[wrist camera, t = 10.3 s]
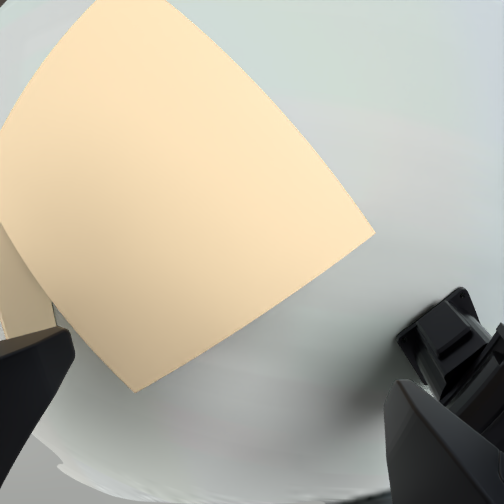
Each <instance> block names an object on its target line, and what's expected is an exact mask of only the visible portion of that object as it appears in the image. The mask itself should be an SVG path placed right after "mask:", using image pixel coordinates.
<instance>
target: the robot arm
mask: <svg viewBox="0 0 504 504" xmlns="http://www.w3.org/2000/svg"><path fill="white" fill-rule="evenodd" d="M461 293H463V294H462V296H460V294H461ZM496 330H497V331H496V333H495V334H494V336H493V337H492V336H491V335H490V334H489V333H488V332H487V331H486V330H485V329H484V328H483V326H482V325H481V324H480V322H479V319H478V316H477V314H476V311H475V308H474V306H473V303H472V301H471V298H470V296H469V293H468V291H467V290H466V289H465V288H464V287H460V288H458V289H457V290H456V291H455V292H453V293H452V294H451V295H450V296H449V297H447V298H446V299H445V300H444V301H442V302H441V303H440V304H438V305H437V306H436V307H435V308H433V309H432V310H431V311H429V312H428V313H427V314H425V315H424V316H423V317H421V318H420V319H419V320H418V321H416V322H415V323H413V324H412V325H411V326H409V327H408V328H406V329H405V330H404V331H402V332H401V333H400V334H398V336H397V342H398V344H399V346H400V347H401V349H402V350H403V352H404V353H405V355H406V356H407V358H408V360H409V361H410V363H411V364H412V366H413V367H414V369H415V371H416V372H417V374H418V375H419V377H420V379H421V380H422V382H423V384H424V385H428V386H429V388H430V390H431V392H432V394H433V396H434V398H433V397H432V396H431V395H429V394H428V393H427V392H426V391H424V390H423V389H422V388H421V387H419V386H418V385H417V384H416V383H414V382H413V381H412V380H410V379H398V380H396V381H395V382H394V383H393V385H392V387H391V390H390V392H389V394H388V397H387V399H386V401H385V404H384V421H385V439H386V459H387V467H388V473H389V480H390V488H391V496H392V504H504V324H503V323H500V324H499V326H498V327H497V329H496ZM404 337H406V338H405V339H404V340H401V339H402V338H404ZM74 358H75V350H74V346H73V342H72V338H71V334H70V332H69V330H67V329H65V328H62V327H59V326H55V327H52V328H48V329H44V330H40V331H37V332H33V333H29V334H25V335H22V336H18V337H14V338H10V339H6V340H2V341H0V488H1V486H2V484H3V482H4V480H5V478H6V477H7V475H8V473H9V471H10V469H11V467H12V466H13V464H14V462H15V460H16V458H17V456H18V455H19V453H20V451H21V450H22V448H23V446H24V445H25V443H26V441H27V439H28V438H29V436H30V434H31V433H32V431H33V430H34V428H35V426H36V425H37V423H38V422H39V420H40V418H41V417H42V415H43V414H44V412H45V410H46V409H47V407H48V406H49V404H50V403H51V401H52V399H53V398H54V396H55V394H56V393H57V391H58V389H59V387H60V385H61V383H62V381H63V379H64V377H65V375H66V374H67V372H68V370H69V368H70V366H71V364H72V363H73V361H74Z"/></svg>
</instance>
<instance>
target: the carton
mask: <svg viewBox="0 0 504 504" xmlns="http://www.w3.org/2000/svg"><path fill="white" fill-rule="evenodd" d="M0 222H1V224H2V226H3V227H4V229H5V231H6V233H7V234H8V236H9V238H10V239H11V241H12V243H13V244H14V246H15V248H16V249H17V251H18V253H19V254H20V256H21V257H22V259H23V260H24V262H25V264H26V265H27V267H28V268H29V270H30V271H31V273H32V274H33V276H34V277H35V278H36V280H37V281H38V283H39V284H40V286H41V287H42V288H43V290H44V291H45V293H46V294H47V295H48V297H49V298H50V299H51V301H52V302H53V303H54V305H55V306H56V307H57V308H58V310H59V311H60V312H61V314H62V315H63V316H64V317H65V319H66V320H67V321H68V322H69V324H70V325H71V326H72V327H73V328H74V330H75V331H76V332H77V333H78V334H79V335H80V337H81V338H82V339H83V340H84V341H85V342H86V344H87V345H88V346H89V347H90V348H91V349H92V350H93V351H94V352H95V354H96V355H97V356H98V357H99V358H100V359H101V360H102V361H103V362H104V363H105V364H106V365H107V366H108V367H109V368H110V369H111V370H112V371H113V372H114V374H115V375H116V376H117V377H118V378H119V379H120V380H122V381H123V382H124V383H125V384H126V385H127V386H128V387H129V388H130V389H131V390H132V391H133V392H134V393H137V392H138V391H140V390H142V389H144V388H145V387H147V386H149V385H150V384H152V383H154V382H156V381H157V380H159V379H161V378H162V377H164V376H166V375H167V374H169V373H171V372H173V371H174V370H176V369H178V368H179V367H181V366H182V365H184V364H186V363H187V362H189V361H191V360H192V359H194V358H196V357H197V356H199V355H200V354H202V353H204V352H205V351H207V350H208V349H210V348H212V347H213V346H215V345H216V344H218V343H219V342H221V341H223V340H224V339H226V338H227V337H229V336H230V335H232V334H234V333H235V332H237V331H238V330H240V329H241V328H243V327H244V326H246V325H247V324H249V323H250V322H252V321H253V320H255V319H256V318H258V317H259V316H261V315H262V314H264V313H265V312H267V311H268V310H270V309H271V308H273V307H274V306H276V305H277V304H279V303H280V302H282V301H283V300H284V299H286V298H287V297H289V296H290V295H292V294H293V293H295V292H296V291H297V290H299V289H300V288H302V287H303V286H305V285H306V284H307V283H309V282H310V281H312V280H313V279H314V278H316V277H317V276H319V275H320V274H321V273H323V272H324V271H326V270H327V269H328V268H330V267H331V266H332V265H334V264H335V263H337V262H338V261H339V260H341V259H342V258H343V257H345V256H346V255H347V254H349V253H350V252H351V251H353V250H354V249H356V248H357V247H358V246H359V245H361V244H362V243H363V242H365V241H366V240H367V239H369V238H370V237H371V236H373V235H374V234H375V231H374V230H373V228H372V227H371V225H370V224H369V222H368V221H367V220H366V218H365V217H364V215H363V214H362V212H361V211H360V210H359V208H358V207H357V205H356V204H355V203H354V201H353V200H352V198H351V197H350V196H349V194H348V193H347V192H346V190H345V189H344V188H343V186H342V185H341V184H340V182H339V181H338V180H337V178H336V177H335V176H334V174H333V173H332V172H331V170H330V169H329V168H328V167H327V165H326V164H325V163H324V161H323V160H322V159H321V158H320V156H319V155H318V154H317V153H316V151H315V150H314V149H313V148H312V146H311V145H310V144H309V143H308V142H307V140H306V139H305V138H304V137H303V136H302V134H301V133H300V132H299V131H298V130H297V129H296V127H295V126H294V125H293V124H292V123H291V122H290V120H289V119H288V118H287V117H286V116H285V115H284V114H283V112H282V111H281V110H280V109H279V108H278V107H277V106H276V105H275V103H274V102H273V101H272V100H271V99H270V98H269V97H268V96H267V95H266V94H265V93H264V92H263V90H262V89H261V88H260V87H259V86H258V85H257V84H256V83H255V82H254V81H253V80H252V79H251V78H250V77H249V76H248V75H247V74H246V73H245V72H244V71H243V70H242V69H241V68H240V67H239V66H238V65H237V64H236V63H235V62H234V61H233V60H232V59H231V58H230V57H229V56H228V55H227V54H226V53H225V52H224V51H223V50H222V49H221V48H220V47H219V46H218V45H217V44H216V43H214V42H213V41H212V40H211V39H210V38H209V37H208V36H207V35H206V34H205V33H204V32H202V31H201V30H200V29H199V28H198V27H197V26H196V25H195V24H193V23H192V22H191V21H190V20H189V19H188V18H186V17H185V16H184V15H183V14H182V13H181V12H179V11H178V10H177V9H176V8H175V7H173V6H172V5H171V4H170V3H168V2H167V1H166V0H96V1H95V2H94V3H93V4H92V5H91V6H90V7H89V8H88V9H87V10H86V11H85V12H84V13H83V14H82V16H81V17H80V18H79V19H78V20H77V21H76V22H75V23H74V24H73V25H72V27H71V28H70V29H69V30H68V31H67V32H66V33H65V35H64V36H63V37H62V38H61V39H60V41H59V42H58V43H57V44H56V46H55V47H54V48H53V49H52V51H51V52H50V53H49V55H48V56H47V57H46V59H45V60H44V61H43V63H42V64H41V65H40V67H39V68H38V70H37V71H36V73H35V74H34V75H33V77H32V78H31V80H30V81H29V83H28V84H27V86H26V87H25V89H24V91H23V92H22V94H21V95H20V97H19V99H18V100H17V102H16V104H15V105H14V107H13V109H12V110H11V112H10V114H9V116H8V117H7V119H6V121H5V123H4V125H3V127H2V129H1V131H0Z"/></svg>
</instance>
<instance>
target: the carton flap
mask: <svg viewBox="0 0 504 504" xmlns="http://www.w3.org/2000/svg"><path fill="white" fill-rule="evenodd" d="M0 321H1V324H2V328H3V331H4V334H5V337H6V339H10V338H14V337H18V336H22V335H25V334H29V333H33V332H37V331H40V330H44V329H48V328H52V327H55V326H56V322H55V317H54V313H53V308H52V303H51V299H50V298H49V297H48V295H47V294H46V293H45V291H44V290H43V288H42V287H41V286H40V284H39V283H38V281H37V280H36V278H35V277H34V276H33V274H32V273H31V271H30V270H29V268H28V267H27V265H26V264H25V262H24V260H23V259H22V257H21V256H20V254H19V253H18V251H17V249H16V248H15V246H14V244H13V243H12V241H11V239H10V238H9V236H8V234H7V233H6V231H5V229H4V227H3V226H2V224H1V222H0Z"/></svg>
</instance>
